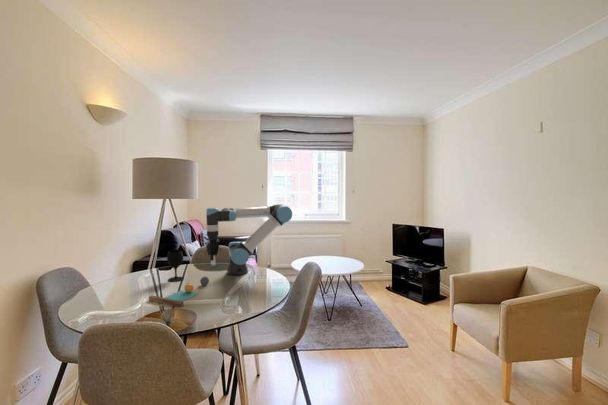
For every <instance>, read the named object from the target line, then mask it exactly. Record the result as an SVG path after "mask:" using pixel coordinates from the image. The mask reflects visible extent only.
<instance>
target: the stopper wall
mask: <svg viewBox="0 0 608 405" xmlns="http://www.w3.org/2000/svg"><path fill="white" fill-rule="evenodd" d="M148 301H149V302H154V303H158V304H163V305H166V306H173V307H177V308H182V307H184V305H185V304H184V301H183V302H182V301H177V300H173V299H168V298H165V297H162V296H157V295H153V294H151V295H150V296H148Z"/></svg>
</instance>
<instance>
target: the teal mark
mask: <svg viewBox="0 0 608 405" xmlns="http://www.w3.org/2000/svg"><path fill="white" fill-rule="evenodd" d="M197 295H198V293H196V292H193V291H192V292H190V293H187V292H186V291H185V290H181V289H180V290H179V291H177V292H174V293H172V294H169V295H168V296H165V297H164V298H168V299H173V300H177V301H182V302H183V303H184V301H187V300H189V299H191V298H192V297H195V296H197Z"/></svg>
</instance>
